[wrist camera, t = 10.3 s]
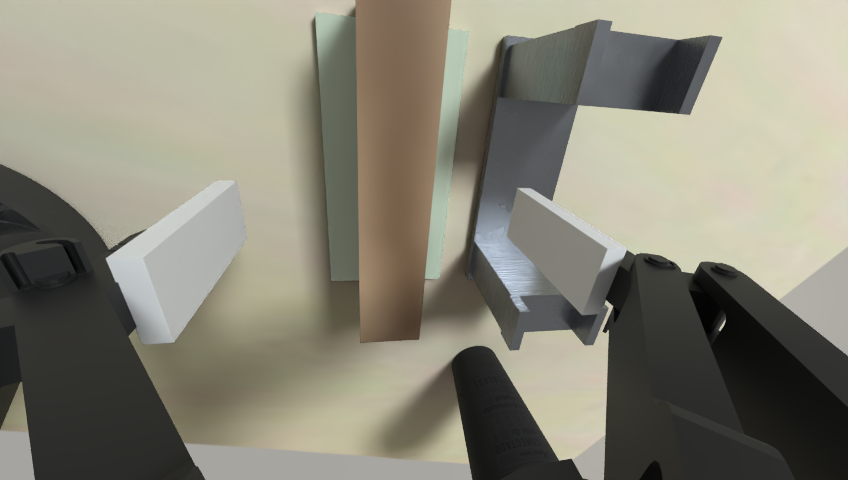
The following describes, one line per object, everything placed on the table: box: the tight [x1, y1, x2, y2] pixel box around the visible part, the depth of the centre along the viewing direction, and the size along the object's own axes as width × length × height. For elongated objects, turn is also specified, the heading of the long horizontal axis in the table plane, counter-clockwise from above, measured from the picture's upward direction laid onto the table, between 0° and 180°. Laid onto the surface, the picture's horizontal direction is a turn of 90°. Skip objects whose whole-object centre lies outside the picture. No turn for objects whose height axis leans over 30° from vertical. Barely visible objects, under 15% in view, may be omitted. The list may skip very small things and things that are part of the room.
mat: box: [315, 12, 469, 281], centre depth 22 cm, size 9×18×1 cm, turn 175°
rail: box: [356, 0, 451, 343], centre depth 20 cm, size 4×20×6 cm, turn 175°
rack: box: [465, 19, 722, 350], centre depth 20 cm, size 6×18×10 cm, turn 175°
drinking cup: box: [452, 346, 559, 480], centre depth 24 cm, size 8×8×20 cm
